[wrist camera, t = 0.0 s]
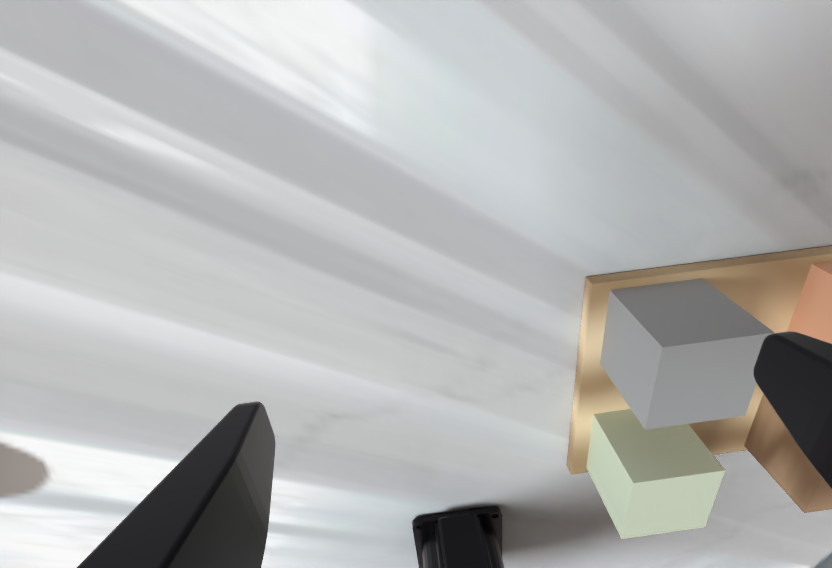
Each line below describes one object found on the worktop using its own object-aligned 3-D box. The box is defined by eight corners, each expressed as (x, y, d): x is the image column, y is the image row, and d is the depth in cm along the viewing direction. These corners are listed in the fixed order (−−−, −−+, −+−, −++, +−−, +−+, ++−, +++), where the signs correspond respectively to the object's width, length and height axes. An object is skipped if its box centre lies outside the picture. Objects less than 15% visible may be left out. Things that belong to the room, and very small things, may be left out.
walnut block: (814, 435, 31) (885, 501, 27) (743, 445, 31) (804, 512, 27) (841, 380, 29) (923, 442, 25) (764, 390, 29) (834, 455, 24)
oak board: (816, 430, 32) (825, 439, 32) (566, 464, 32) (571, 474, 31) (908, 235, 25) (923, 241, 24) (585, 276, 25) (592, 284, 24)
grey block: (684, 352, 27) (745, 416, 22) (599, 363, 27) (644, 429, 22) (702, 278, 24) (774, 332, 20) (609, 290, 24) (662, 347, 20)
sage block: (658, 457, 31) (705, 527, 27) (586, 467, 31) (621, 539, 27) (671, 403, 29) (725, 470, 24) (593, 413, 29) (633, 483, 24)
